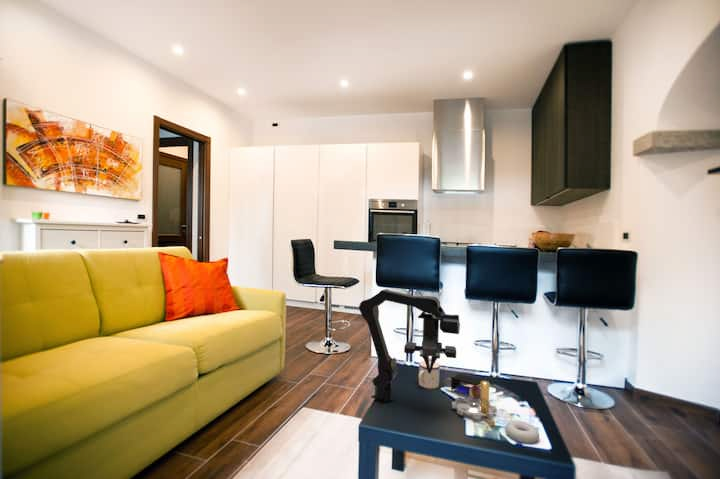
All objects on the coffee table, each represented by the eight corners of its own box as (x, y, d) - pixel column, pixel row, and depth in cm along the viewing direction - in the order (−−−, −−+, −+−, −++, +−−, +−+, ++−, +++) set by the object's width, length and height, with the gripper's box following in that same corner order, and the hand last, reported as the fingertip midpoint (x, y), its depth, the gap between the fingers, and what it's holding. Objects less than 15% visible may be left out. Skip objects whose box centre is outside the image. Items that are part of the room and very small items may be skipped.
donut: (502, 438, 115) (536, 448, 110) (502, 427, 115) (536, 437, 110) (508, 426, 123) (541, 435, 118) (508, 416, 124) (541, 424, 118)
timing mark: (485, 422, 125) (485, 419, 125) (489, 421, 126) (489, 418, 126) (490, 425, 123) (490, 422, 123) (494, 424, 123) (494, 421, 123)
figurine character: (444, 394, 151) (477, 402, 140) (442, 375, 152) (475, 382, 141) (453, 390, 156) (485, 398, 145) (451, 372, 157) (484, 378, 146)
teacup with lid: (425, 379, 164) (426, 353, 164) (443, 385, 157) (444, 358, 158) (410, 386, 155) (410, 359, 155) (428, 392, 149) (429, 364, 149)
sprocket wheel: (453, 416, 126) (454, 382, 126) (450, 398, 141) (451, 367, 141) (500, 421, 123) (501, 386, 123) (492, 402, 138) (493, 371, 139)
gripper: (403, 333, 129) (401, 377, 129) (457, 338, 125) (455, 383, 125) (406, 327, 140) (405, 367, 140) (456, 331, 136) (455, 373, 136)
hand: (429, 372), depth 135 cm, fingers closed
